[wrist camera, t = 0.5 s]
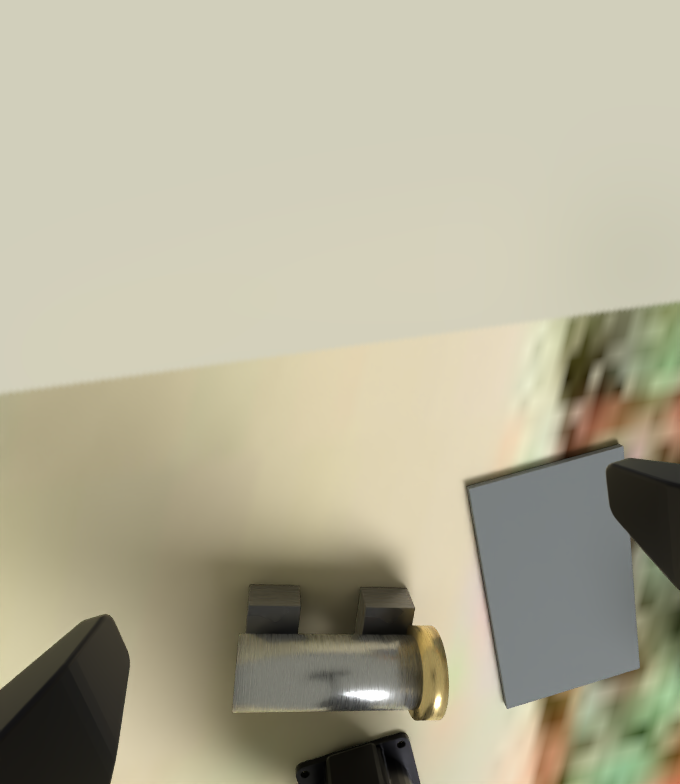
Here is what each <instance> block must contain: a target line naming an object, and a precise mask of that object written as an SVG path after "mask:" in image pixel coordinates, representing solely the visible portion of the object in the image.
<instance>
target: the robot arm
mask: <svg viewBox="0 0 680 784" xmlns="http://www.w3.org/2000/svg"><path fill="white" fill-rule="evenodd" d="M606 483H607V491H608V500H609V507H610V510H611V512H612V514H613V516H614V517H615V519H616V520H617V521H618V522H619V523H620V525H621V526H622V527H623V528H624V529H625V530H626V531H627V533H628V534H629V535H630V536H631V537H632V538H633V539H634V541H635V542H636V543H637V544H638V545H639V546H640V547H641V549H642V550H643V551H644V552H645V553H646V554H647V555H648V556H649V558H650V559H651V560H652V561H653V562H654V563H655V564H656V566H657V567H658V568H659V569H660V570H661V571H662V572H663V574H664V575H665V576H666V577H667V578H668V579H669V580H670V581H671V582H672V583H673V584H674V585H675V586H676V587H677V588H678V589H679V590H680V464H676V463H668V462H659V461H651V460H643V459H635V458H627V459H623V460H620V461H616V462H613V463H610V464H609V465H608V466H607V467H606ZM129 668H130V659H129V654H128V651H127V648H126V646H125V644H124V642H123V639H122V637H121V635H120V633H119V630H118V628H117V626H116V624H115V621H114V620H113V618H112V617H111V616H110V615H107V614H103V615H100V616H96V617H93V618H90V619H86V620H84V621H82V622H81V623H79V624H78V625H77V626H76V627H75V628H73V629H72V630H71V631H70V632H69V633H67V634H66V635H65V636H64V637H63V638H61V639H60V640H59V641H58V642H57V643H55V644H54V645H53V646H52V647H51V648H49V649H48V650H47V651H46V652H45V653H43V654H42V655H41V656H40V657H39V658H38V659H36V660H35V661H34V662H33V663H32V664H30V665H29V666H28V667H27V668H26V669H24V670H23V671H22V672H21V673H20V674H18V675H17V676H16V677H15V678H14V679H12V680H11V681H10V682H9V683H8V684H6V685H5V686H4V687H3V688H2V689H0V784H110V783H111V779H112V774H113V770H114V766H115V761H116V755H117V750H118V743H119V737H120V730H121V723H122V716H123V709H124V703H125V696H126V689H127V682H128V675H129ZM400 741H403V742H402V743H398V742H400ZM303 771H307V772H304V773H303ZM296 778H297V781H298V784H420V780H419V776H418V772H417V768H416V764H415V760H414V756H413V752H412V748H411V744H410V741H409V737H408V735H407V734H406V733H402V732H401V733H396V734H393V735H390V736H386V737H383V738H380V739H377V740H373V741H370V742H367V743H364V744H360V745H357V746H354V747H351V748H347V749H344V750H341V751H338V752H335V753H331V754H328V755H325V756H322V757H318V758H315V759H312V760H309V761H305V762H302V763H300V764H299V765H298V766H297V767H296Z"/></svg>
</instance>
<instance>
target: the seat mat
mask: <svg viewBox="0 0 680 784" xmlns="http://www.w3.org/2000/svg"><path fill="white" fill-rule="evenodd" d="M623 459H624V449H623V446H622V445H620V444H618V445H614V446H611V447H607V448H603V449H600V450H596V451H593V452H589V453H585V454H582V455H578V456H575V457H571V458H567V459H564V460H560V461H557V462H553V463H549V464H546V465H542V466H539V467H535V468H531V469H528V470H524V471H521V472H517V473H513V474H510V475H506V476H503V477H499V478H495V479H492V480H488V481H485V482H481V483H477V484H474V485H470V486H467V491H468V496H469V502H470V508H471V514H472V519H473V525H474V531H475V536H476V542H477V548H478V553H479V559H480V565H481V571H482V576H483V582H484V588H485V593H486V599H487V605H488V610H489V616H490V622H491V627H492V633H493V639H494V645H495V650H496V656H497V662H498V667H499V673H500V679H501V684H502V690H503V696H504V701H505V705H506V707H507V709H509V708H512V707H515V706H519V705H522V704H525V703H528V702H532V701H535V700H538V699H541V698H545V697H548V696H551V695H554V694H557V693H561V692H564V691H567V690H570V689H574V688H577V687H580V686H583V685H587V684H590V683H593V682H596V681H599V680H603V679H606V678H609V677H612V676H616V675H619V674H622V673H625V672H629V671H632V670H635V669H638V668H640V664H639V651H638V637H637V624H636V610H635V597H634V583H633V570H632V556H631V543H630V535H629V534H628V533H627V531H626V530H625V529H624V528H623V527H622V526H621V525H620V523H619V522H618V521H617V520H616V519H615V517H614V516H613V514H612V512H611V510H610V507H609V500H608V491H607V483H606V467H607V466H608V465H609V464H610V463H613V462H616V461H620V460H623Z"/></svg>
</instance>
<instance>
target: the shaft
mask: <svg viewBox="0 0 680 784" xmlns="http://www.w3.org/2000/svg"><path fill="white" fill-rule="evenodd" d="M300 609H301V602H300V589H299V586H281V585H250V589H249V601H248V612H247V624H246V634H239V640H238V651H237V662H236V673H235V685H234V697H233V709H232V713H251V712H311V711H371V710H408V711H409V713H410V715H411V717H412V718H413V719H414V720H416V721H418V720H440V719H442V718H443V716H444V714H445V712H446V708H447V703H448V694H449V678H448V667H447V660H446V655H445V650H444V646H443V643H442V640H441V638H440V635H439V633H438V632H437V630H436V629H435V628H434V627H433V626H413V625H412V622H413V617H414V611H415V607H414V604H413V602H412V599H411V597H410V595H409V592H408V590H407V588H369V587H361V590H360V597H359V603H358V610H357V617H356V624H355V631H354V634H298V627H299V618H300Z"/></svg>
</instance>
